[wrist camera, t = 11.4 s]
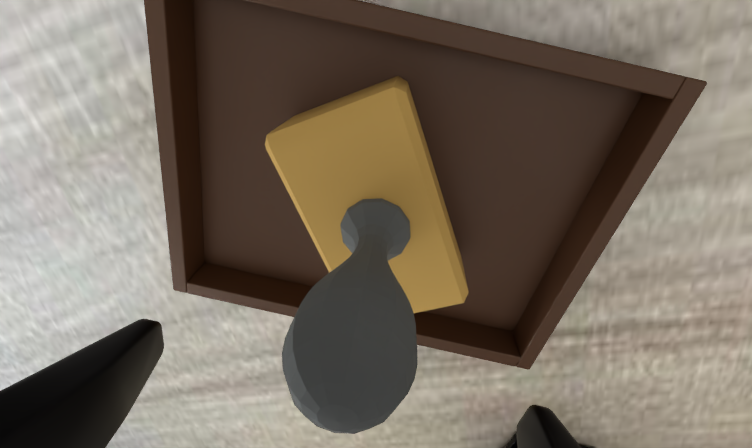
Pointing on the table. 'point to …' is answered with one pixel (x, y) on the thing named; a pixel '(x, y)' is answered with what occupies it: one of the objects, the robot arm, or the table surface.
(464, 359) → the table surface
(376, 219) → the rubber stamp
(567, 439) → the robot arm
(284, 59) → the tray
